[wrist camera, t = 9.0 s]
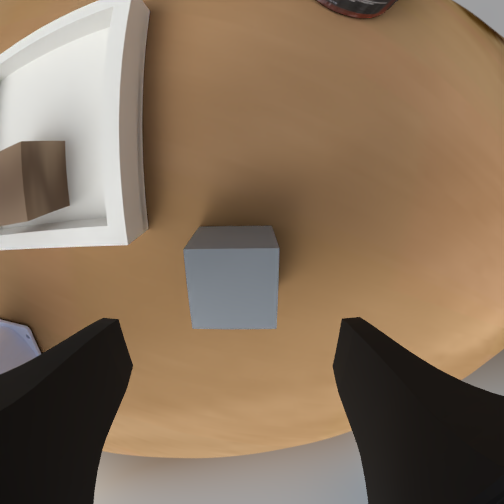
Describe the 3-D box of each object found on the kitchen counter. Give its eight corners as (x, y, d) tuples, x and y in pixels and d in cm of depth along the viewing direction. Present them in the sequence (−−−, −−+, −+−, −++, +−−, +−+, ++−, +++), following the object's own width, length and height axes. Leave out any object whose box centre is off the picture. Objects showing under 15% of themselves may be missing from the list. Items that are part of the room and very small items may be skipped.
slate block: (270, 290, 16) (276, 328, 13) (204, 290, 16) (192, 328, 13) (271, 225, 15) (279, 248, 11) (199, 226, 15) (183, 249, 11)
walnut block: (70, 205, 13) (27, 221, 10) (30, 212, 13) (-10, 228, 10) (65, 140, 12) (21, 141, 8) (24, 154, 12) (-17, 160, 8)
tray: (148, 229, 15) (128, 245, 12) (4, 239, 15) (-19, 251, 12) (150, 10, 10) (133, -12, 7) (2, 75, 10) (-21, 71, 7)
